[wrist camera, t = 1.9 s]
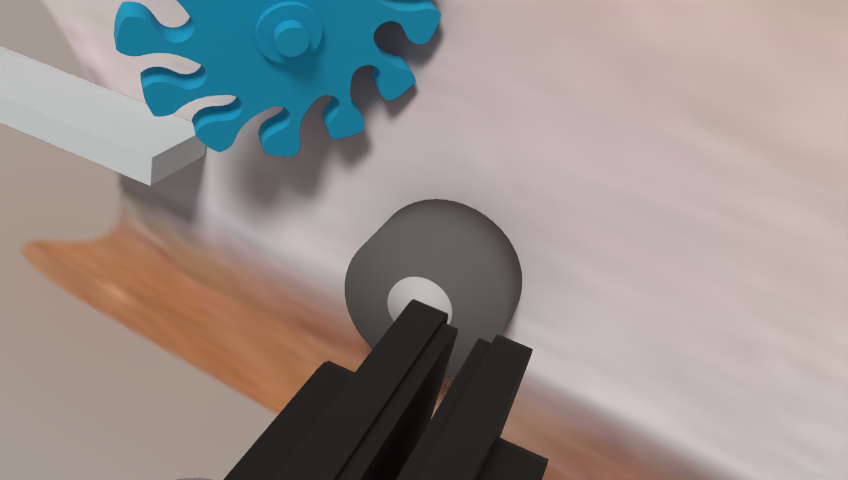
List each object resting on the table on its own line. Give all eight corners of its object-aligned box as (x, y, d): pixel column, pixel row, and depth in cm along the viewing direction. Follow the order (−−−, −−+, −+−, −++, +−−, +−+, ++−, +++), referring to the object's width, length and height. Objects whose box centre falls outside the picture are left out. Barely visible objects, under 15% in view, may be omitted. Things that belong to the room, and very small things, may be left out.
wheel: (542, 234, 29) (520, 272, 27) (497, 360, 32) (474, 404, 30) (392, 176, 30) (358, 207, 28) (363, 302, 34) (330, 341, 31)
